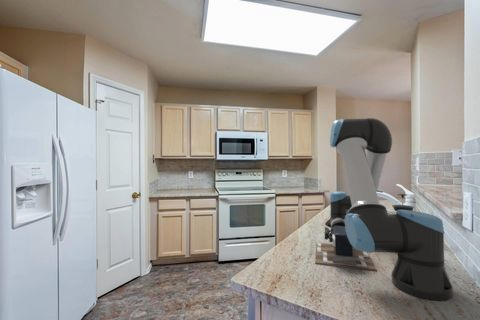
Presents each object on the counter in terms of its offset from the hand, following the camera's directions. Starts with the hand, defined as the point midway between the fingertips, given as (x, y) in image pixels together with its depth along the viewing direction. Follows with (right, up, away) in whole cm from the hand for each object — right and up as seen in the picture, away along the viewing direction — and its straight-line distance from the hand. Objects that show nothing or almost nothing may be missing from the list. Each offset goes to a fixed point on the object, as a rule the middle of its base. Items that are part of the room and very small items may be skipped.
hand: (344, 243), depth 89 cm
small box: (+2, -7, +6) cm, 10 cm away
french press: (+43, -9, +28) cm, 52 cm away
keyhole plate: (+4, -9, +10) cm, 14 cm away
